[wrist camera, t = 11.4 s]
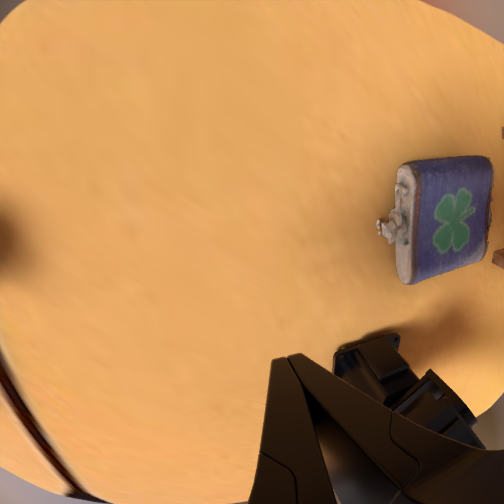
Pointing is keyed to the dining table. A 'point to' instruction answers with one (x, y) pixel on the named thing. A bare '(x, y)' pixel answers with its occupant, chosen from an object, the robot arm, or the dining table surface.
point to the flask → (440, 215)
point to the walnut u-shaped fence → (500, 257)
